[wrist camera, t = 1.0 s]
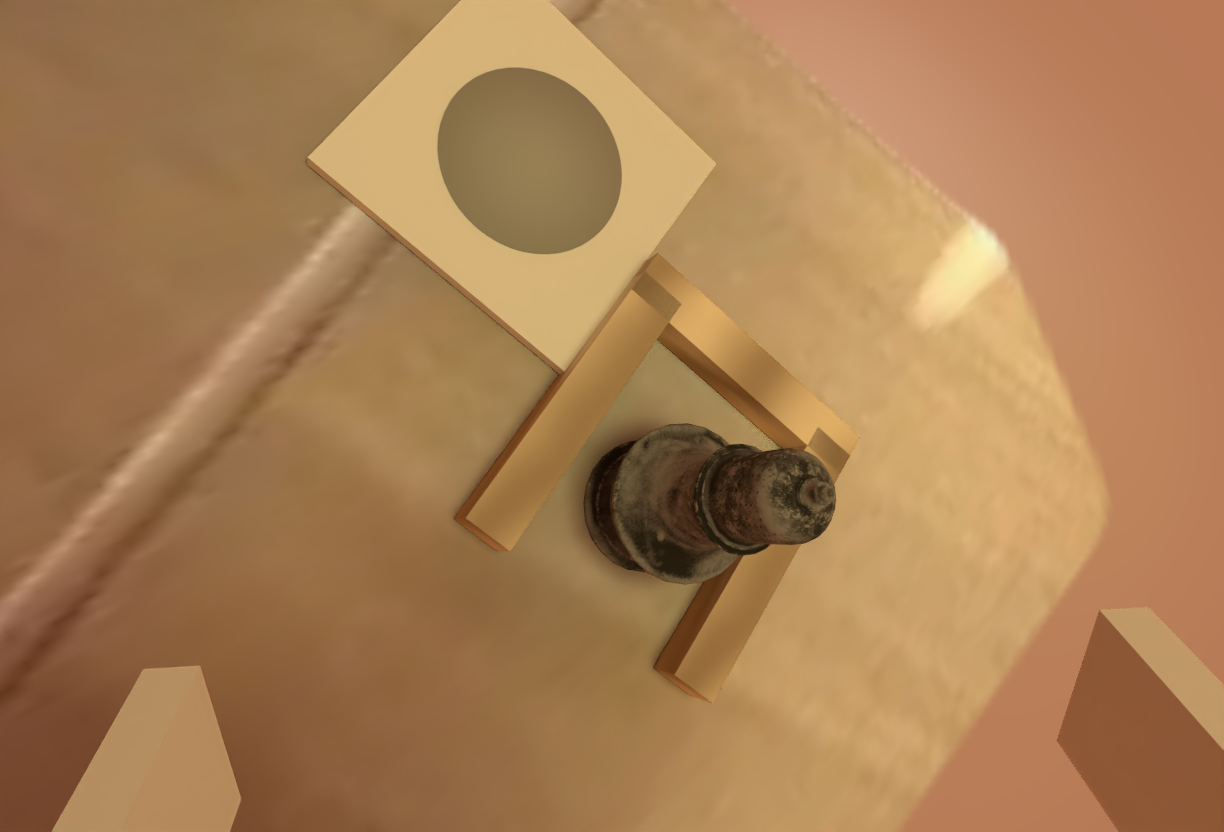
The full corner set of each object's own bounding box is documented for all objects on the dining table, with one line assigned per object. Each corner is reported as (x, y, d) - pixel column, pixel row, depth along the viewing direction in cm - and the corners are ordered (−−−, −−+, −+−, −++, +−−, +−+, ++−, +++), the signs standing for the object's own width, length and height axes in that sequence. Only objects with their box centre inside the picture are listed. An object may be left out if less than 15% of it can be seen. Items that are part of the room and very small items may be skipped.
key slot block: (453, 518, 31) (465, 517, 30) (638, 265, 36) (657, 253, 34) (689, 694, 34) (712, 703, 33) (833, 441, 39) (860, 437, 37)
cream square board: (306, 164, 31) (307, 156, 30) (498, -34, 35) (503, -45, 34) (559, 373, 34) (565, 371, 33) (709, 168, 38) (717, 162, 37)
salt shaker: (690, 421, 36) (889, 373, 25) (720, 559, 36) (934, 571, 25) (562, 448, 33) (720, 408, 22) (594, 596, 33) (769, 628, 22)
